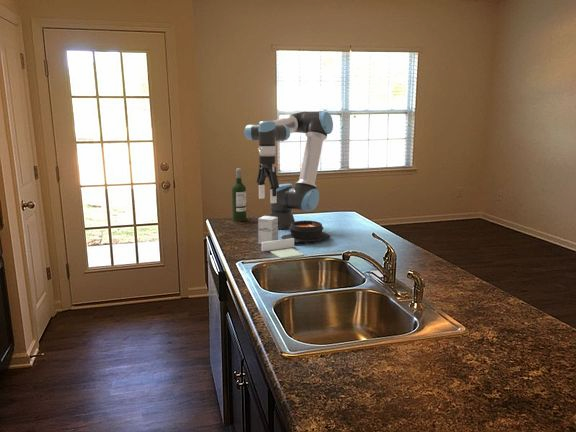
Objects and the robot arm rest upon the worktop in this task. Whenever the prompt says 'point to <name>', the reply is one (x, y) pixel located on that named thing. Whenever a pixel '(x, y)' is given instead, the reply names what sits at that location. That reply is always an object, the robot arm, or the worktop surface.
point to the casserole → (306, 232)
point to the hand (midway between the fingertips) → (267, 200)
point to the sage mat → (286, 253)
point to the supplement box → (267, 229)
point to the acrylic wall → (277, 244)
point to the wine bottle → (239, 198)
